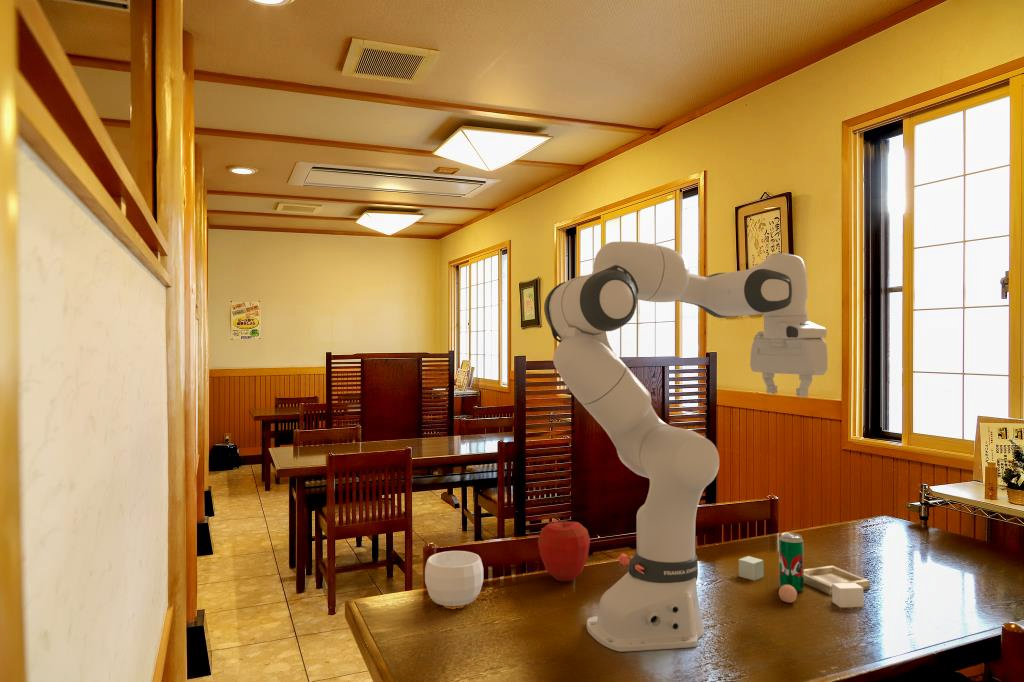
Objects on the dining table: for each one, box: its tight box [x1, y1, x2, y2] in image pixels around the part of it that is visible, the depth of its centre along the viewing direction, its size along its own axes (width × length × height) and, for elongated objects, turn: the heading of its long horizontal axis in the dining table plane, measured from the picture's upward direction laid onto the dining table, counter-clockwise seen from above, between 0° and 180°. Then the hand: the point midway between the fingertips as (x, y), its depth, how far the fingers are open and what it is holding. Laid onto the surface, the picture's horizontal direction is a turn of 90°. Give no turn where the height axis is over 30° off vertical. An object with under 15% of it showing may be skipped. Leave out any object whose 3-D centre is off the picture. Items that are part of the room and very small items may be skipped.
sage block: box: [738, 555, 765, 581], centre depth 161 cm, size 4×4×4 cm
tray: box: [804, 565, 871, 596], centre depth 156 cm, size 11×11×2 cm
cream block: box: [831, 583, 864, 608], centre depth 143 cm, size 5×3×4 cm, turn 93°
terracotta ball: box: [778, 585, 798, 604], centre depth 145 cm, size 4×4×4 cm
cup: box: [424, 550, 484, 607], centre depth 145 cm, size 12×12×10 cm
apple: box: [537, 518, 591, 582], centre depth 160 cm, size 12×12×14 cm
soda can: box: [778, 532, 805, 593], centre depth 152 cm, size 5×5×12 cm
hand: (786, 395), depth 146 cm, fingers open, 8 cm apart
